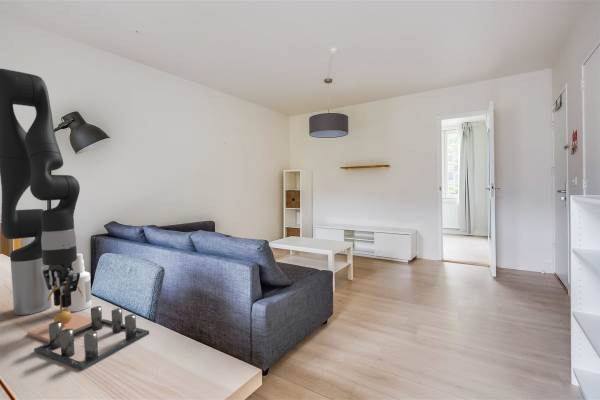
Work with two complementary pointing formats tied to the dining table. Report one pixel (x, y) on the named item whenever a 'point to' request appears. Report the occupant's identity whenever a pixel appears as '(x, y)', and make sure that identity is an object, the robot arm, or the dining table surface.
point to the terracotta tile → (74, 323)
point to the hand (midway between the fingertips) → (62, 305)
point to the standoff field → (89, 338)
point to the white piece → (81, 287)
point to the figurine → (65, 314)
